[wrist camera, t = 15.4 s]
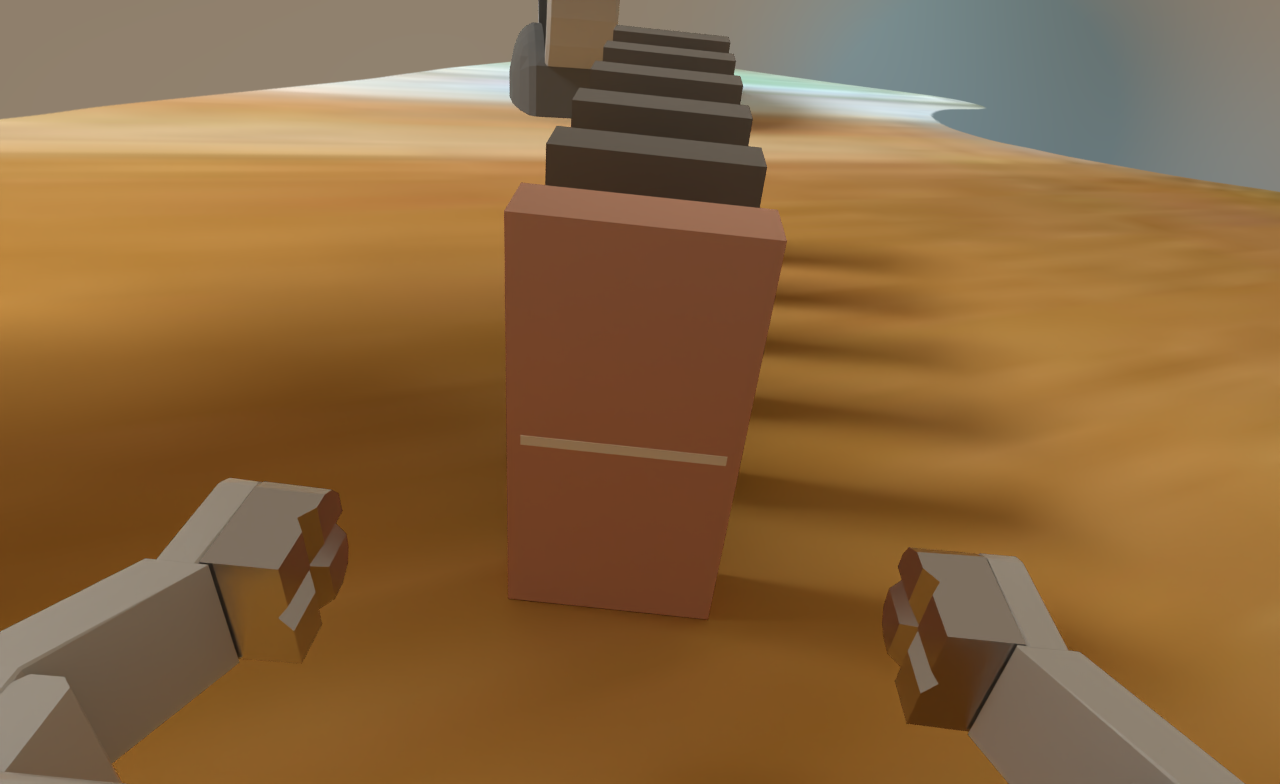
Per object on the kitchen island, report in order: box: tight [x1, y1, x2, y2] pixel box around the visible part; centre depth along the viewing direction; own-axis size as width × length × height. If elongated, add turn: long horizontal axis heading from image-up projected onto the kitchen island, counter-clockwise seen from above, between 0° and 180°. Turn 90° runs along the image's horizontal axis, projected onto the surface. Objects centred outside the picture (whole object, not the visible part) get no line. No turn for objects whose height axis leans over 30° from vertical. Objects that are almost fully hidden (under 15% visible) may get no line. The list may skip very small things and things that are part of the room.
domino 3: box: [571, 88, 753, 146], centre depth 24 cm, size 2×5×10 cm, turn 87°
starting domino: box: [504, 183, 787, 619], centre depth 17 cm, size 2×5×10 cm, turn 87°
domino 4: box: [589, 61, 743, 105], centre depth 28 cm, size 2×5×10 cm, turn 87°
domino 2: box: [545, 126, 767, 208], centre depth 20 cm, size 2×5×10 cm, turn 87°
